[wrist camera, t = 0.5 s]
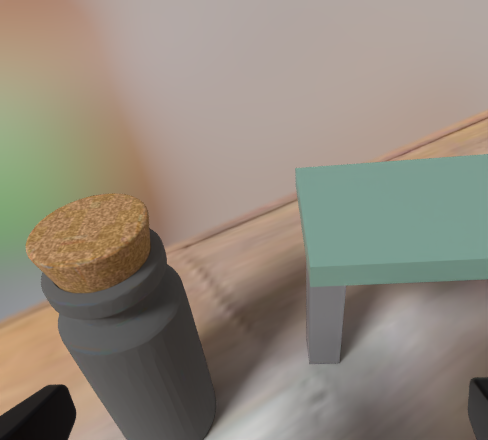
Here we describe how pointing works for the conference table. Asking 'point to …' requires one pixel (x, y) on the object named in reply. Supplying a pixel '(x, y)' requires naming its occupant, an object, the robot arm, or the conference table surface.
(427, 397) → the conference table surface
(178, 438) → the bottle
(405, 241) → the socket block
